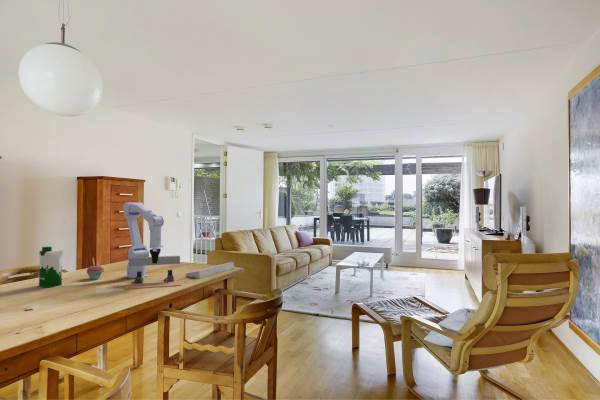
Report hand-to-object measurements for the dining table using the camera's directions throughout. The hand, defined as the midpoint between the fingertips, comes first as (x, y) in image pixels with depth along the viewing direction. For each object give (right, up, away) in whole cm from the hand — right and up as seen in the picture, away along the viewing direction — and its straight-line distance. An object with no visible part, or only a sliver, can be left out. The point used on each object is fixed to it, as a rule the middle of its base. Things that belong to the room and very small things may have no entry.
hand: (154, 262), depth 193 cm
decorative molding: (+25, -12, +27) cm, 38 cm away
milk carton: (-48, -10, -14) cm, 51 cm away
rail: (0, -1, 0) cm, 1 cm away
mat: (+3, -10, -9) cm, 14 cm away
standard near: (-8, -10, -3) cm, 13 cm away
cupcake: (-35, -10, +3) cm, 37 cm away
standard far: (+7, -11, +3) cm, 13 cm away
